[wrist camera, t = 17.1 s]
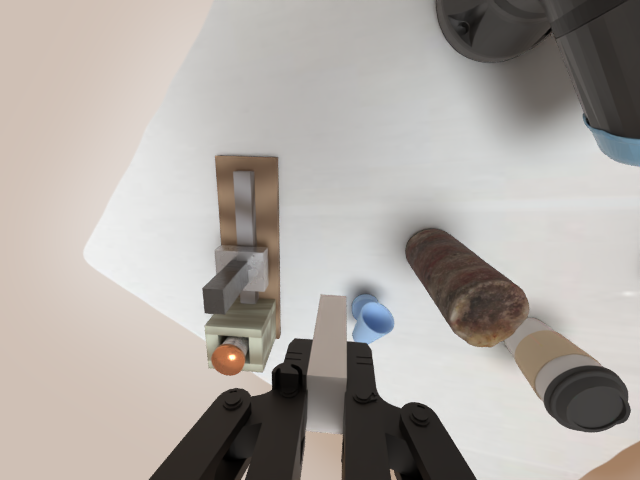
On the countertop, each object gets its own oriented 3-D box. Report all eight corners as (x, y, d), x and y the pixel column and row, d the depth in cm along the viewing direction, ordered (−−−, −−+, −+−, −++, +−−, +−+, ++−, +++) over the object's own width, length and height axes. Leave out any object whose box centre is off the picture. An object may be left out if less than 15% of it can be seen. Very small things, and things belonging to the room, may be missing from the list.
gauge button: (231, 315, 47) (209, 346, 40) (259, 317, 47) (242, 348, 39) (233, 339, 48) (212, 374, 41) (260, 341, 48) (244, 376, 41)
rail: (218, 155, 45) (183, 157, 35) (278, 157, 44) (259, 159, 35) (230, 331, 54) (205, 370, 44) (280, 334, 53) (266, 375, 43)
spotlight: (361, 281, 49) (344, 315, 51) (365, 313, 39) (344, 354, 41) (389, 292, 49) (371, 326, 51) (400, 327, 39) (377, 367, 41)
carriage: (221, 245, 45) (181, 275, 34) (267, 247, 45) (242, 279, 34) (224, 281, 47) (187, 322, 36) (268, 284, 46) (244, 326, 35)
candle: (442, 216, 45) (515, 267, 26) (464, 256, 46) (547, 333, 27) (396, 242, 46) (432, 307, 27) (418, 280, 48) (467, 367, 29)
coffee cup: (491, 357, 51) (548, 438, 36) (502, 309, 48) (569, 377, 34) (547, 361, 50) (627, 446, 36) (562, 313, 48) (655, 384, 33)
